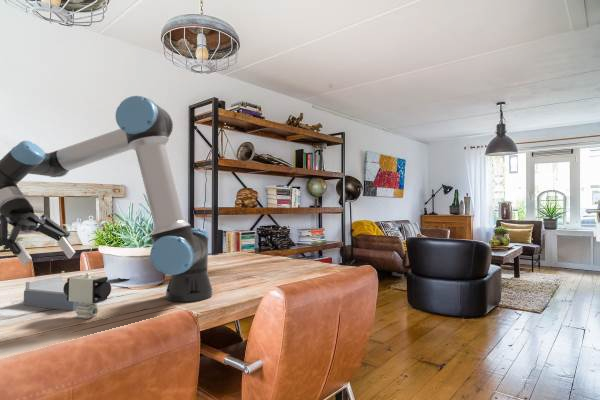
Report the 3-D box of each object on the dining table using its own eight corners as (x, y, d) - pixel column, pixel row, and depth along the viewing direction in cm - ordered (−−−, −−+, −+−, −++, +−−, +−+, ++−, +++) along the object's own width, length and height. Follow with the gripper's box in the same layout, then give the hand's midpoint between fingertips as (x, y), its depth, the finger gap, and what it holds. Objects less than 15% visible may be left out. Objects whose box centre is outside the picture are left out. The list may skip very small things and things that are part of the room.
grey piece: (105, 300, 117) (105, 278, 117) (73, 310, 105) (73, 286, 105) (52, 295, 122) (52, 274, 123) (16, 304, 111) (16, 281, 111)
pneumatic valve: (98, 321, 96) (99, 276, 96) (62, 317, 98) (62, 273, 99) (113, 315, 101) (114, 272, 101) (78, 312, 104) (79, 270, 104)
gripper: (45, 213, 121) (80, 260, 116) (-43, 215, 96) (-3, 275, 92) (58, 197, 119) (94, 245, 115) (-28, 195, 95) (13, 255, 91)
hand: (51, 258), depth 104 cm, fingers open, 13 cm apart
